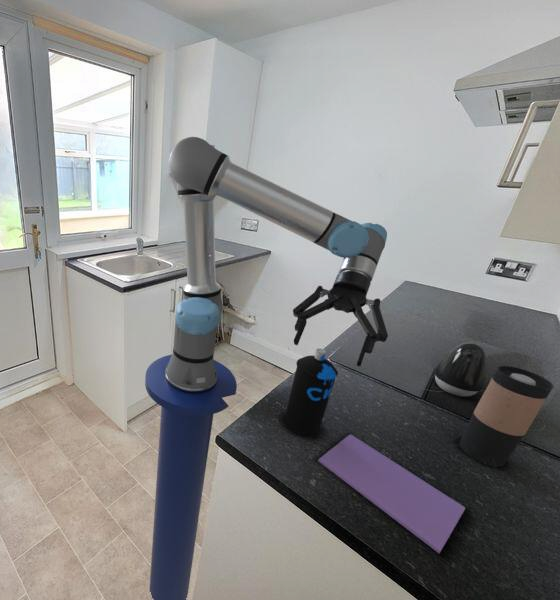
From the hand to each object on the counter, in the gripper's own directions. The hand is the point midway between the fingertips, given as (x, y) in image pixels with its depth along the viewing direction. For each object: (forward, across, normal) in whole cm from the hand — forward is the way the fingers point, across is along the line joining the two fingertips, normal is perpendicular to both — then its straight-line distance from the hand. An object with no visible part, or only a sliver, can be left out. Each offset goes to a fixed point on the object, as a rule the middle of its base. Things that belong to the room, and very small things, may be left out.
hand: (325, 353), depth 72 cm
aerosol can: (+17, 0, -7) cm, 18 cm away
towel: (+20, -17, -3) cm, 27 cm away
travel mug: (+4, -33, -20) cm, 38 cm away
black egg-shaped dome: (-15, -29, -38) cm, 50 cm away
